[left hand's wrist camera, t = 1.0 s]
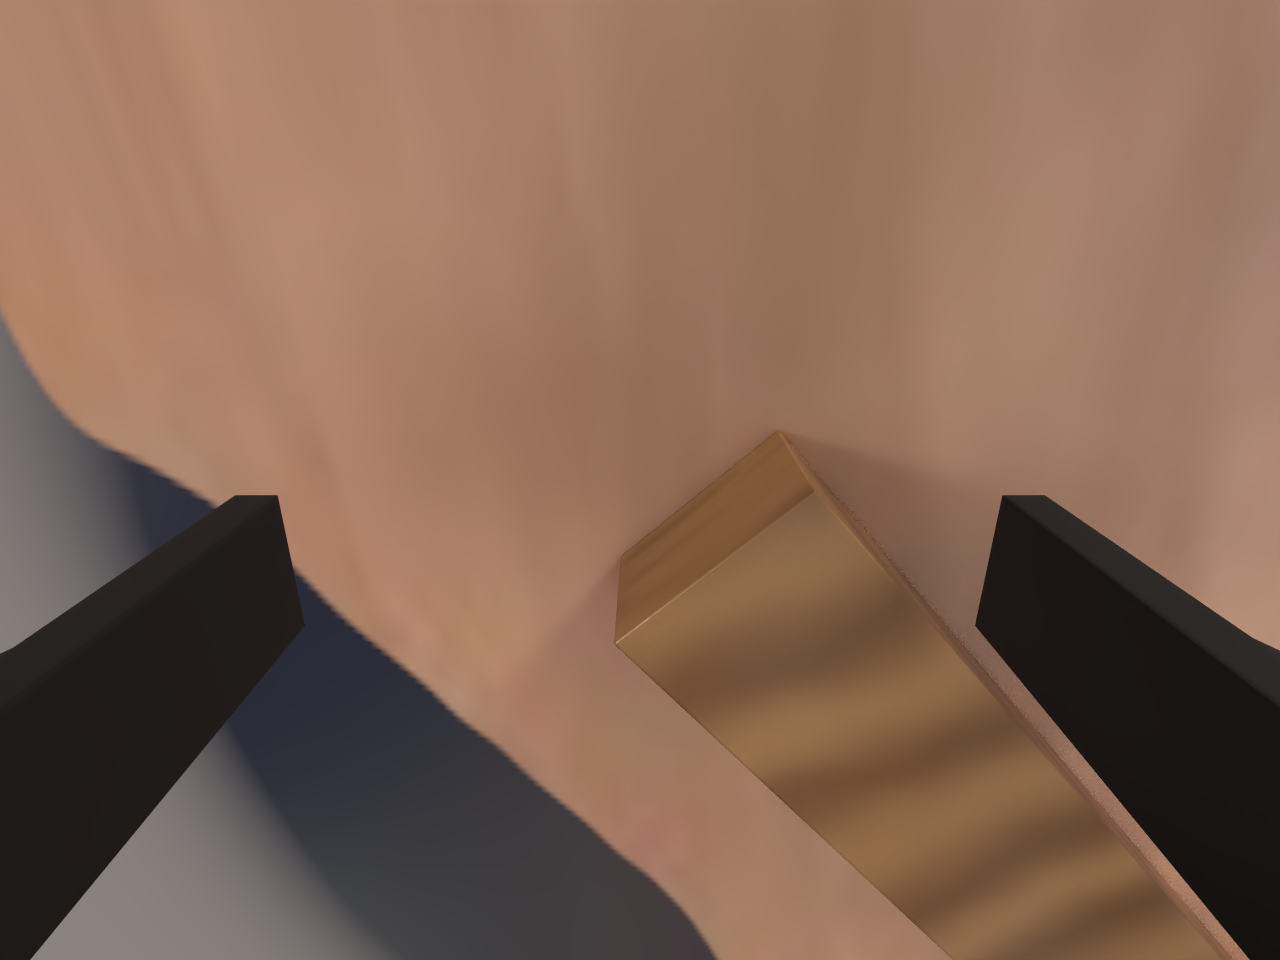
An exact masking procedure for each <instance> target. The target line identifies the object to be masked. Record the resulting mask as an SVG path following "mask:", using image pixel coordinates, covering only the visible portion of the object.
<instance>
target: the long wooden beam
mask: <svg viewBox="0 0 1280 960" xmlns="http://www.w3.org/2000/svg"><path fill="white" fill-rule="evenodd" d="M614 644H615V645H616V646H617V647H618V648H619V649H620V650H621V651H622V652H623V653H624V654H625V655H626V656H628V657H629V658H630V659H631V660H632V661H633V662H634V663H635V664H636V665H637V666H638V667H639V668H640V669H642V670H643V671H644V672H645V673H646V674H647V675H648V676H649V677H650V678H651V679H652V680H653V681H654V682H655V683H657V684H658V685H659V686H660V687H661V688H662V689H663V690H664V691H665V692H666V693H667V694H668V695H669V696H671V697H672V698H673V699H674V700H675V701H676V702H677V703H678V704H679V705H680V706H681V707H682V708H683V709H684V710H686V711H687V712H688V713H689V714H690V715H691V716H692V717H693V718H694V719H695V720H696V721H697V722H698V723H700V724H701V725H702V726H703V727H704V728H705V729H706V730H707V731H708V732H709V733H710V734H711V735H712V736H713V737H715V738H716V739H717V740H718V741H719V742H720V743H721V744H722V745H723V746H724V747H725V748H726V749H727V750H729V751H730V752H731V753H732V754H733V755H734V756H735V757H736V758H737V759H738V760H739V761H740V762H741V763H742V764H744V765H745V766H746V767H747V768H748V769H749V770H750V771H751V772H752V773H753V774H754V775H755V776H756V777H758V778H759V779H760V780H761V781H762V782H763V783H764V784H765V785H766V786H767V787H768V788H769V789H770V790H771V791H773V792H774V793H775V794H776V795H777V796H778V797H779V798H780V799H781V800H782V801H783V802H784V803H785V804H787V805H788V806H789V807H790V808H791V809H792V810H793V811H794V812H795V813H796V814H797V815H798V816H799V817H800V818H802V819H803V820H804V821H805V822H806V823H807V824H808V825H809V826H810V827H811V828H812V829H813V830H814V831H816V832H817V833H818V834H819V835H820V836H821V837H822V838H823V839H824V840H825V841H826V842H827V843H828V844H829V845H831V846H832V847H833V848H834V849H835V850H836V851H837V852H838V853H839V854H840V855H841V856H842V857H843V858H845V859H846V860H847V861H848V862H849V863H850V864H851V865H852V866H853V867H854V868H855V869H856V870H857V871H858V872H860V873H861V874H862V875H863V876H864V877H865V878H866V879H867V880H868V881H869V882H870V883H871V884H872V885H874V886H875V887H876V888H877V889H878V890H879V891H880V892H881V893H882V894H883V895H884V896H885V897H886V898H887V899H889V900H890V901H891V902H892V903H893V904H894V905H895V906H896V907H897V908H898V909H899V910H900V911H901V912H903V913H904V914H905V915H906V916H907V917H908V918H909V919H910V920H911V921H912V922H913V923H914V924H915V925H917V926H918V927H919V928H920V929H921V930H922V931H923V932H924V933H925V934H926V935H927V936H928V937H929V938H930V939H932V940H933V941H934V942H935V943H936V944H937V945H938V946H939V947H940V948H941V949H942V950H943V951H944V952H946V953H947V954H948V955H949V956H950V957H951V958H952V959H953V960H1233V958H1232V957H1231V956H1230V955H1229V954H1228V953H1227V951H1226V950H1225V949H1224V948H1223V947H1222V946H1221V944H1220V943H1219V942H1218V941H1217V940H1216V939H1215V937H1214V936H1213V935H1212V934H1211V933H1210V932H1209V931H1208V929H1207V928H1206V927H1205V926H1204V925H1203V924H1202V922H1201V921H1200V920H1199V919H1198V918H1197V917H1196V915H1195V914H1194V913H1193V912H1192V911H1191V910H1190V908H1189V907H1188V906H1187V905H1186V904H1185V903H1184V901H1183V900H1182V899H1181V898H1180V897H1179V896H1178V894H1177V893H1176V892H1175V891H1174V890H1173V889H1172V887H1171V886H1170V885H1169V884H1168V883H1167V882H1166V880H1165V879H1164V878H1163V877H1162V876H1161V875H1160V873H1159V872H1158V871H1157V870H1156V869H1155V868H1154V866H1153V865H1152V864H1151V863H1150V862H1149V861H1148V859H1147V858H1146V857H1145V856H1144V855H1143V854H1142V852H1141V851H1140V850H1139V849H1138V848H1137V847H1136V846H1135V844H1134V843H1133V842H1132V841H1131V840H1130V839H1129V837H1128V836H1127V835H1126V834H1125V833H1124V832H1123V830H1122V829H1121V828H1120V827H1119V826H1118V825H1117V823H1116V822H1115V821H1114V820H1113V819H1112V818H1111V816H1110V815H1109V814H1108V813H1107V812H1106V811H1105V809H1104V808H1103V807H1102V806H1101V805H1100V804H1099V802H1098V801H1097V800H1096V799H1095V798H1094V797H1093V795H1092V794H1091V793H1090V792H1089V791H1088V790H1087V788H1086V787H1085V786H1084V785H1083V784H1082V783H1081V781H1080V780H1079V779H1078V778H1077V777H1076V776H1075V774H1074V773H1073V772H1072V771H1071V770H1070V769H1069V767H1068V766H1067V765H1066V764H1065V763H1064V762H1063V761H1062V759H1061V758H1060V757H1059V756H1058V755H1057V754H1056V752H1055V751H1054V750H1053V749H1052V748H1051V747H1050V745H1049V744H1048V743H1047V742H1046V741H1045V740H1044V738H1043V737H1042V736H1041V735H1040V734H1039V733H1038V731H1037V730H1036V729H1035V728H1034V727H1033V726H1032V724H1031V723H1030V722H1029V721H1028V720H1027V719H1026V717H1025V716H1024V715H1023V714H1022V713H1021V712H1020V710H1019V709H1018V708H1017V707H1016V706H1015V705H1014V703H1013V702H1012V701H1011V700H1010V699H1009V698H1008V696H1007V695H1006V694H1005V693H1004V692H1003V691H1002V689H1001V688H1000V687H999V686H998V685H997V684H996V682H995V681H994V680H993V679H992V678H991V677H990V676H989V674H988V673H987V672H986V671H985V670H984V669H983V667H982V666H981V665H980V664H979V663H978V662H977V660H976V659H975V658H974V657H973V656H972V655H971V653H970V652H969V651H968V650H967V649H966V648H965V646H964V645H963V644H962V643H961V642H960V641H959V639H958V638H957V637H956V636H955V635H954V634H953V632H952V631H951V630H950V629H949V628H948V627H947V625H946V624H945V623H944V622H943V621H942V620H941V618H940V617H939V616H938V615H937V614H936V613H935V611H934V610H933V609H932V608H931V607H930V606H929V604H928V603H927V602H926V601H925V600H924V599H923V597H922V596H921V595H920V594H919V593H918V592H917V591H916V589H915V588H914V587H913V586H912V585H911V584H910V582H909V581H908V580H907V579H906V578H905V577H904V575H903V574H902V573H901V572H900V571H899V570H898V568H897V567H896V566H895V565H894V564H893V563H892V561H891V560H890V559H889V558H888V557H887V556H886V554H885V553H884V552H883V551H882V550H881V549H880V547H879V546H878V545H877V544H876V543H875V542H874V540H873V539H872V538H871V537H870V536H869V535H868V533H867V532H866V531H865V530H864V529H863V528H862V526H861V525H860V524H859V523H858V522H857V521H856V519H855V518H854V517H853V516H852V515H851V514H850V512H849V511H848V510H847V509H846V508H845V507H844V506H843V504H842V503H841V502H840V501H839V500H838V499H837V497H836V496H835V495H834V494H833V493H832V492H831V490H830V489H829V488H828V487H827V486H826V485H825V483H824V482H823V481H822V480H821V479H820V478H819V476H818V475H817V474H816V473H815V472H814V471H813V469H812V468H811V467H810V466H809V465H808V464H807V462H806V461H805V460H804V459H803V458H802V457H801V455H800V454H799V453H798V452H797V451H796V450H795V448H794V447H793V446H792V445H791V444H790V443H789V441H788V440H787V439H786V438H785V437H784V436H783V434H782V433H781V432H780V431H777V432H776V433H775V434H774V435H772V436H771V437H770V438H769V439H767V440H766V441H765V442H764V443H762V444H761V445H760V446H759V447H757V448H756V449H755V450H754V451H752V452H751V453H750V454H749V455H747V456H746V457H745V458H744V459H742V460H741V461H740V462H739V463H737V464H736V465H735V466H734V467H732V468H731V469H730V470H729V471H727V472H726V473H725V474H724V475H722V476H721V477H720V478H719V479H717V480H716V481H715V482H714V483H712V484H711V485H710V486H709V487H707V488H706V489H705V490H704V491H702V492H701V493H700V494H699V495H697V496H696V497H695V498H694V499H692V500H691V501H690V502H689V503H687V504H686V505H685V506H684V507H682V508H681V509H680V510H679V511H677V512H676V513H675V514H674V515H672V516H671V517H670V518H669V519H667V520H666V521H665V522H664V523H662V524H661V525H660V526H659V527H657V528H656V529H655V530H654V531H652V532H651V533H650V534H649V535H647V536H646V537H645V538H644V539H642V540H641V541H640V542H639V543H637V544H636V545H635V546H634V547H632V548H631V549H630V550H629V551H628V552H626V553H625V554H624V555H623V556H622V557H621V565H620V577H619V590H618V602H617V615H616V627H615V640H614Z"/></svg>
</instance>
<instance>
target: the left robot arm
mask: <svg viewBox="0 0 1280 960" xmlns="http://www.w3.org/2000/svg"><path fill="white" fill-rule="evenodd" d="M304 626H305V624H304V619H303V614H302V609H301V605H300V600H299V595H298V591H297V586H296V581H295V576H294V571H293V567H292V562H291V557H290V552H289V548H288V543H287V538H286V533H285V528H284V524H283V519H282V514H281V509H280V505H279V500H278V495H235V496H234V497H232V498H231V499H229V500H228V501H226V502H225V503H223V504H222V505H221V506H219V507H218V508H216V509H215V510H213V511H212V512H210V513H209V514H207V515H206V516H204V517H203V518H202V519H200V520H199V521H197V522H196V523H194V524H193V525H191V526H190V527H189V528H187V529H186V530H184V531H183V532H181V533H180V534H178V535H177V536H175V537H174V538H172V539H171V540H169V541H168V542H167V543H165V544H164V545H162V546H161V547H159V548H158V549H156V550H155V551H153V552H152V553H151V554H149V555H148V556H146V557H145V558H143V559H142V560H140V561H139V562H138V563H136V564H135V565H133V566H132V567H130V568H129V569H127V570H126V571H124V572H123V573H121V574H120V575H119V576H117V577H116V578H114V579H113V580H111V581H110V582H108V583H107V584H105V585H104V586H102V587H101V588H100V589H98V590H97V591H95V592H94V593H92V594H91V595H89V596H88V597H86V598H85V599H83V600H82V601H81V602H79V603H78V604H76V605H75V606H73V607H72V608H70V609H69V610H68V611H66V612H65V613H63V614H62V615H60V616H59V617H57V618H56V619H54V620H53V621H51V622H50V623H49V624H47V625H46V626H44V627H43V628H41V629H40V630H38V631H37V632H35V633H34V634H33V635H31V636H30V637H28V638H27V639H25V640H24V641H22V642H21V643H19V644H18V645H16V646H15V647H14V648H11V649H9V650H7V651H5V652H3V653H1V654H0V960H30V959H31V958H32V957H33V956H34V954H35V953H36V952H37V951H38V950H39V948H40V947H41V946H42V945H43V943H44V942H45V941H46V940H47V939H48V937H49V936H50V935H51V934H52V933H53V931H54V930H55V929H56V928H57V926H58V925H59V924H60V923H61V922H62V920H63V919H64V918H65V917H66V915H67V914H68V913H69V912H70V911H71V909H72V908H73V907H74V906H75V904H76V903H77V902H78V901H79V900H80V898H81V897H82V896H83V895H84V893H85V892H86V891H87V890H88V889H89V887H90V886H91V885H92V884H93V883H94V881H95V880H96V879H97V878H98V877H99V875H100V874H101V873H102V872H103V870H104V869H105V868H106V867H107V866H108V864H109V863H110V862H111V861H112V860H113V858H114V857H115V856H116V855H117V853H118V852H119V851H120V850H121V849H122V847H123V846H124V845H125V844H126V842H127V841H128V840H129V839H130V838H131V836H132V835H133V834H134V833H135V832H136V830H137V829H138V828H139V827H140V825H141V824H142V823H143V822H144V821H145V819H146V818H147V817H148V816H149V815H150V813H151V812H152V811H153V810H154V808H155V807H156V806H157V805H158V804H159V802H160V801H161V800H162V799H163V797H164V796H165V795H166V794H167V793H168V791H169V790H170V789H171V788H172V786H173V785H174V784H175V783H176V782H177V780H178V779H179V778H180V777H181V776H182V774H183V773H184V772H185V771H186V769H187V768H188V767H189V766H190V765H191V763H192V762H193V761H194V760H195V758H196V757H197V756H198V755H199V754H200V752H201V751H202V750H203V749H204V748H205V746H206V745H207V744H208V743H209V741H210V740H211V739H212V738H213V737H214V735H215V734H216V733H217V732H218V731H219V729H220V728H221V727H222V726H223V724H224V723H225V722H226V721H227V720H228V718H229V717H230V716H231V715H232V713H233V712H234V711H235V710H236V709H237V707H238V706H239V705H240V704H241V703H242V701H243V700H244V699H245V698H246V696H247V695H248V694H249V693H250V692H251V690H252V689H253V688H254V687H255V686H256V684H257V683H258V682H259V681H260V679H261V678H262V677H263V676H264V675H265V673H266V672H267V671H268V670H269V668H270V667H271V666H272V665H273V664H274V662H275V661H276V660H277V659H278V658H279V656H280V655H281V654H282V653H283V651H284V650H285V649H286V648H287V647H288V645H289V644H290V643H291V642H292V641H293V639H294V638H295V637H296V636H297V634H298V633H299V632H300V631H301V630H302V628H303V627H304ZM975 626H976V627H977V628H978V630H979V631H980V632H981V633H982V634H983V636H984V637H985V638H986V639H987V641H988V642H989V643H990V644H991V645H992V647H993V648H994V649H995V650H996V651H997V653H998V654H999V655H1000V656H1001V658H1002V659H1003V660H1004V661H1005V662H1006V664H1007V665H1008V666H1009V667H1010V669H1011V670H1012V671H1013V672H1014V673H1015V675H1016V676H1017V677H1018V678H1019V679H1020V681H1021V682H1022V683H1023V684H1024V686H1025V687H1026V688H1027V689H1028V690H1029V692H1030V693H1031V694H1032V695H1033V696H1034V698H1035V699H1036V700H1037V701H1038V703H1039V704H1040V705H1041V706H1042V707H1043V709H1044V710H1045V711H1046V712H1047V714H1048V715H1049V716H1050V717H1051V718H1052V720H1053V721H1054V722H1055V723H1056V724H1057V726H1058V727H1059V728H1060V729H1061V731H1062V732H1063V733H1064V734H1065V735H1066V737H1067V738H1068V739H1069V740H1070V742H1071V743H1072V744H1073V745H1074V746H1075V748H1076V749H1077V750H1078V751H1079V752H1080V754H1081V755H1082V756H1083V757H1084V759H1085V760H1086V761H1087V762H1088V763H1089V765H1090V766H1091V767H1092V768H1093V769H1094V771H1095V772H1096V773H1097V774H1098V776H1099V777H1100V778H1101V779H1102V780H1103V782H1104V783H1105V784H1106V785H1107V787H1108V788H1109V789H1110V790H1111V791H1112V793H1113V794H1114V795H1115V796H1116V797H1117V799H1118V800H1119V801H1120V802H1121V804H1122V805H1123V806H1124V807H1125V808H1126V810H1127V811H1128V812H1129V813H1130V815H1131V816H1132V817H1133V818H1134V819H1135V821H1136V822H1137V823H1138V824H1139V825H1140V827H1141V828H1142V829H1143V830H1144V832H1145V833H1146V834H1147V835H1148V836H1149V838H1150V839H1151V840H1152V841H1153V842H1154V844H1155V845H1156V846H1157V847H1158V849H1159V850H1160V851H1161V852H1162V853H1163V855H1164V856H1165V857H1166V858H1167V860H1168V861H1169V862H1170V863H1171V864H1172V866H1173V867H1174V868H1175V869H1176V870H1177V872H1178V873H1179V874H1180V875H1181V877H1182V878H1183V879H1184V880H1185V881H1186V883H1187V884H1188V885H1189V886H1190V888H1191V889H1192V890H1193V891H1194V892H1195V894H1196V895H1197V896H1198V897H1199V898H1200V900H1201V901H1202V902H1203V903H1204V905H1205V906H1206V907H1207V908H1208V909H1209V911H1210V912H1211V913H1212V914H1213V915H1214V917H1215V918H1216V919H1217V920H1218V922H1219V923H1220V924H1221V925H1222V926H1223V928H1224V929H1225V930H1226V931H1227V933H1228V934H1229V935H1230V936H1231V937H1232V939H1233V940H1234V941H1235V942H1236V943H1237V945H1238V946H1239V947H1240V948H1241V950H1242V951H1243V952H1244V953H1245V954H1246V956H1247V957H1248V958H1249V959H1250V960H1280V651H1279V650H1277V649H1275V648H1273V647H1271V646H1269V645H1267V644H1264V643H1262V642H1260V641H1258V640H1256V639H1254V638H1252V637H1250V636H1249V635H1248V634H1246V633H1245V632H1243V631H1242V630H1240V629H1239V628H1237V627H1236V626H1234V625H1233V624H1231V623H1230V622H1229V621H1227V620H1226V619H1224V618H1223V617H1221V616H1220V615H1218V614H1217V613H1215V612H1214V611H1213V610H1211V609H1210V608H1208V607H1207V606H1205V605H1204V604H1202V603H1201V602H1199V601H1198V600H1197V599H1195V598H1194V597H1192V596H1191V595H1189V594H1188V593H1186V592H1185V591H1183V590H1182V589H1180V588H1179V587H1178V586H1176V585H1175V584H1173V583H1172V582H1170V581H1169V580H1167V579H1166V578H1164V577H1163V576H1162V575H1160V574H1159V573H1157V572H1156V571H1154V570H1153V569H1151V568H1150V567H1148V566H1147V565H1145V564H1144V563H1143V562H1141V561H1140V560H1138V559H1137V558H1135V557H1134V556H1132V555H1131V554H1129V553H1128V552H1127V551H1125V550H1124V549H1122V548H1121V547H1119V546H1118V545H1116V544H1115V543H1113V542H1112V541H1111V540H1109V539H1108V538H1106V537H1105V536H1103V535H1102V534H1100V533H1099V532H1097V531H1096V530H1094V529H1093V528H1092V527H1090V526H1089V525H1087V524H1086V523H1084V522H1083V521H1081V520H1080V519H1078V518H1077V517H1076V516H1074V515H1073V514H1071V513H1070V512H1068V511H1067V510H1065V509H1064V508H1062V507H1061V506H1059V505H1058V504H1057V503H1055V502H1054V501H1052V500H1051V499H1049V498H1048V497H1046V496H1045V495H1002V500H1001V505H1000V509H999V514H998V519H997V524H996V528H995V533H994V538H993V543H992V548H991V552H990V557H989V562H988V567H987V571H986V576H985V581H984V586H983V590H982V595H981V600H980V605H979V609H978V614H977V619H976V624H975Z"/></svg>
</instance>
